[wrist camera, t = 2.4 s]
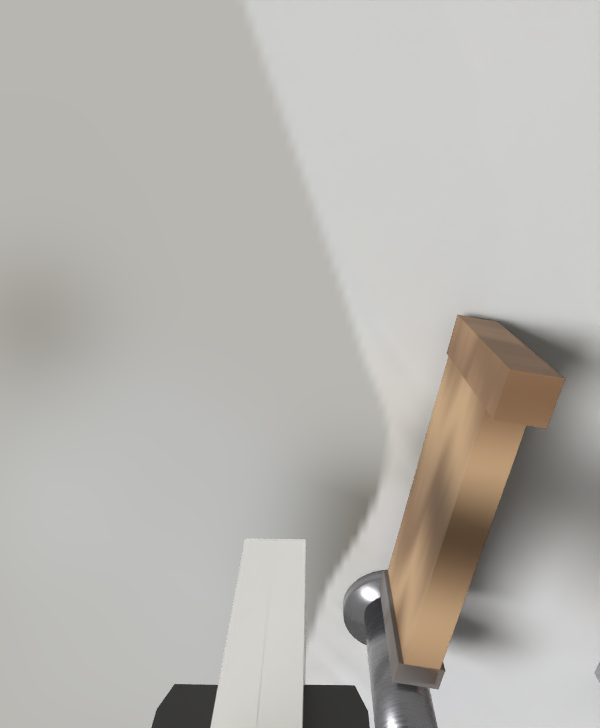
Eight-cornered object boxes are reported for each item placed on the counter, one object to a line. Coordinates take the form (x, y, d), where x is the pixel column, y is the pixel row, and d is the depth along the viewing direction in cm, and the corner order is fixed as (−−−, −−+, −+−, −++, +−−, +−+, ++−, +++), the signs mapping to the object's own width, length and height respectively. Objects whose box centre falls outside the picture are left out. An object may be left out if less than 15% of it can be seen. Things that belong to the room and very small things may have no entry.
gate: (416, 592, 25) (444, 714, 20) (379, 586, 25) (396, 706, 20) (500, 322, 21) (568, 379, 15) (455, 314, 21) (506, 368, 15)
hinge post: (441, 578, 26) (483, 717, 19) (419, 645, 27) (451, 795, 21) (352, 564, 26) (364, 698, 19) (335, 632, 27) (340, 778, 21)
